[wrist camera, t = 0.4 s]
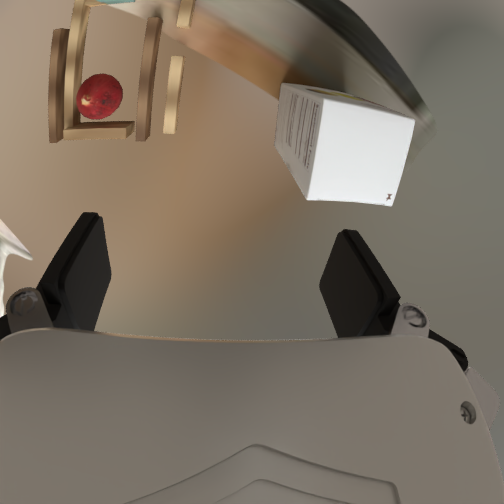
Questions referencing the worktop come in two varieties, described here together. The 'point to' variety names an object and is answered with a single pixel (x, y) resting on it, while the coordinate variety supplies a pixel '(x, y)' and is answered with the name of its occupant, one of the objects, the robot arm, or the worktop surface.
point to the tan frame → (74, 77)
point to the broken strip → (177, 72)
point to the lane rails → (145, 81)
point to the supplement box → (341, 144)
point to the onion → (99, 96)
